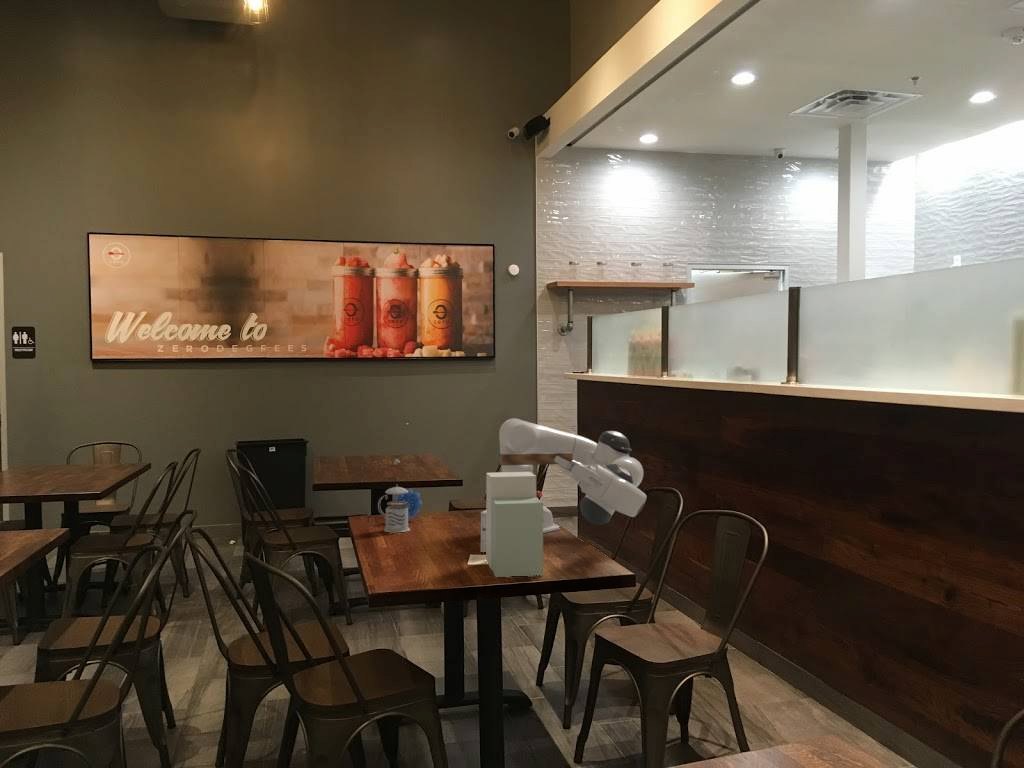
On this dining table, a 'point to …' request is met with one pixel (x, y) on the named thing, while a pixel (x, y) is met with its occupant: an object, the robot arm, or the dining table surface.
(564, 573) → the dining table surface
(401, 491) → the french press
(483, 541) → the supplement box
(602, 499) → the robot arm
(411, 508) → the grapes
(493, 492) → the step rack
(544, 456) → the walnut bar
